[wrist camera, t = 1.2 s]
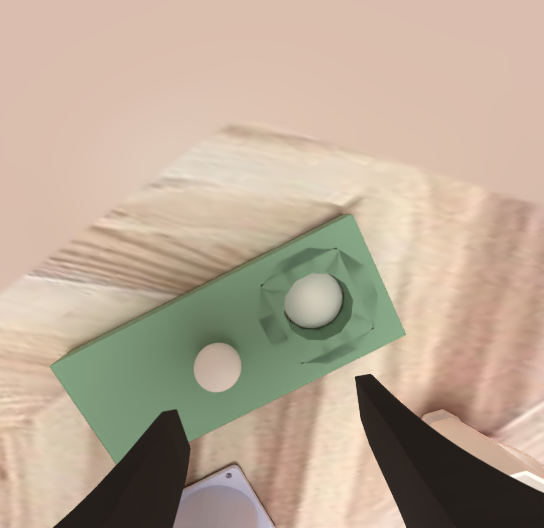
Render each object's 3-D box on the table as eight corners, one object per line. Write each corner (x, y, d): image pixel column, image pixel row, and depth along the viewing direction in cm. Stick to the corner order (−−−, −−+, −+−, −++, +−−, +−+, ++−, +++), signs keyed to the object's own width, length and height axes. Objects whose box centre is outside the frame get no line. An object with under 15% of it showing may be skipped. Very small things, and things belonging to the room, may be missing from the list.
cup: (407, 391, 26) (473, 467, 18) (514, 401, 27) (623, 478, 19) (392, 464, 27) (448, 565, 19) (496, 471, 28) (592, 572, 20)
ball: (211, 383, 23) (204, 410, 19) (190, 347, 22) (179, 369, 19) (249, 364, 22) (249, 388, 19) (229, 327, 22) (225, 346, 19)
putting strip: (135, 450, 26) (123, 474, 23) (69, 351, 24) (49, 366, 22) (391, 323, 25) (406, 334, 23) (342, 214, 24) (352, 213, 21)
